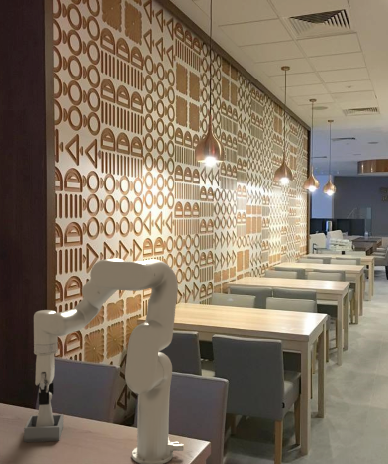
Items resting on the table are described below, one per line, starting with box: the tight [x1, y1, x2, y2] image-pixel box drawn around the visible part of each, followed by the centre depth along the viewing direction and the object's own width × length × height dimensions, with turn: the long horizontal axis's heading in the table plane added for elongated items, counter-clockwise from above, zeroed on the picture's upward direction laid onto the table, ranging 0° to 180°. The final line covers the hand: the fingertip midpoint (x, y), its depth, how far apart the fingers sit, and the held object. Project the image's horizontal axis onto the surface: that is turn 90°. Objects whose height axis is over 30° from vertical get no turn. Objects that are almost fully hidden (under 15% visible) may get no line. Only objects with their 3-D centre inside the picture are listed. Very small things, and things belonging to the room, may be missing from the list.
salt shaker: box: [36, 392, 54, 427], centre depth 170 cm, size 6×6×13 cm
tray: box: [23, 413, 65, 443], centre depth 170 cm, size 11×11×4 cm
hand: (46, 399), depth 170 cm, fingers open, 9 cm apart
